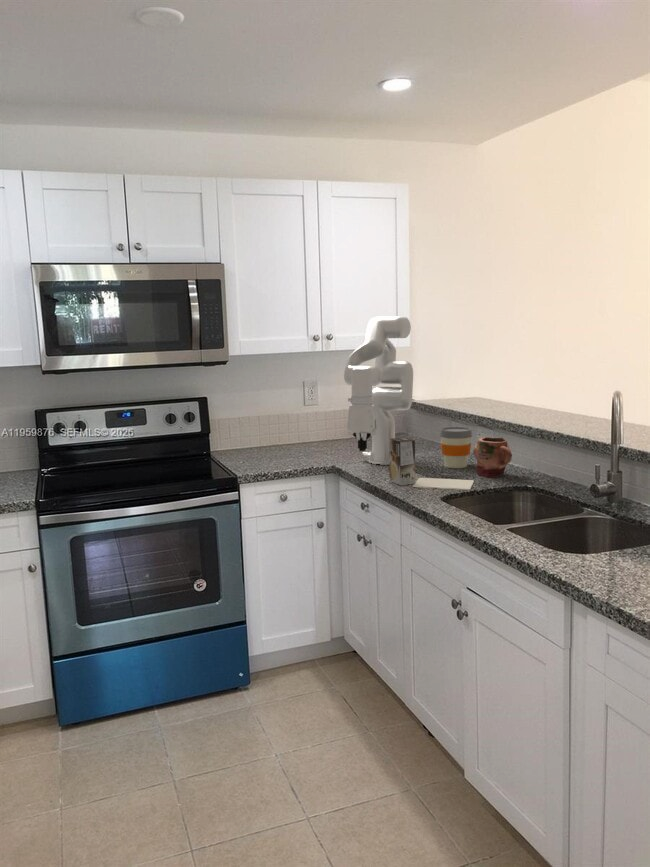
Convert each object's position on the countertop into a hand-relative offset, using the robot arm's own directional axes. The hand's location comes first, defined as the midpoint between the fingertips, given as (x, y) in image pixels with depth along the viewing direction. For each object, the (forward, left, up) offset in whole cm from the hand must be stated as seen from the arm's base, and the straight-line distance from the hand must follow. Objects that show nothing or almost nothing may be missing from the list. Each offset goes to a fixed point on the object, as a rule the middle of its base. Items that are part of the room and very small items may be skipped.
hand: (362, 450), depth 263 cm
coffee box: (+15, 0, -12) cm, 19 cm away
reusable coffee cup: (+30, +34, -12) cm, 47 cm away
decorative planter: (+46, +19, -12) cm, 51 cm away
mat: (+30, 0, -11) cm, 32 cm away
